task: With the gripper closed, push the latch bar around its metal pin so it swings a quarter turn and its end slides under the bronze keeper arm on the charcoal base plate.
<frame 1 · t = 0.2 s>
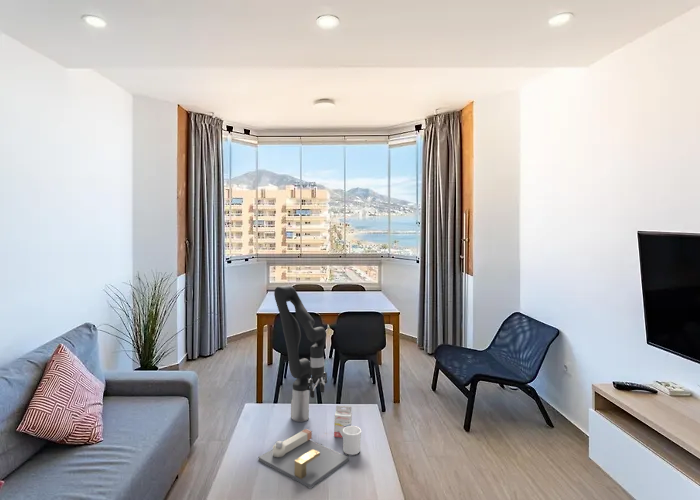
hand: (317, 394, 219), 17 cm above the table, tool pointing down, fingers open, 8 cm apart
ink cartridge box: (342, 436, 211), on the table
keeper: (306, 474, 177), resting on base plate
base plate: (303, 460, 188), on the table
latch bar: (292, 440, 196), point 5 cm above the table, hinge at 90.0°
mug: (352, 450, 197), on the table
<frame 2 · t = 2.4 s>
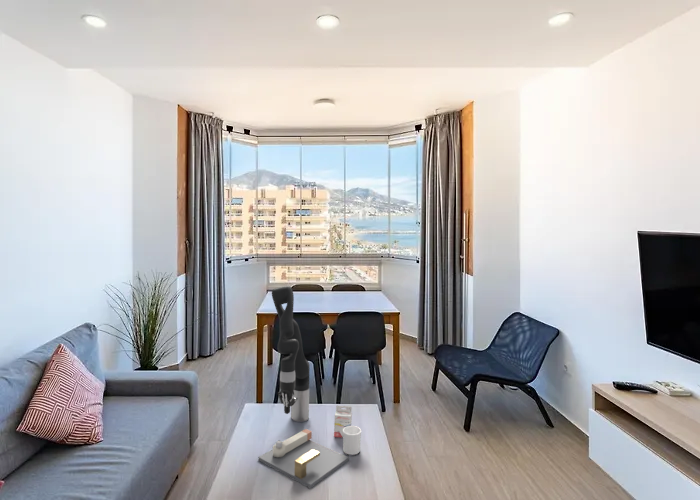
hand: (287, 413, 204), 14 cm above the table, tool pointing down, fingers closed
nothing on the table moved.
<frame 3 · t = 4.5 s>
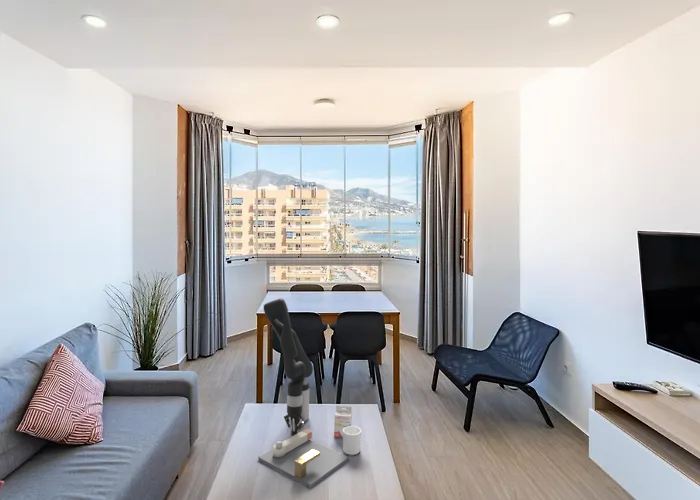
hand: (294, 437, 202), 3 cm above the table, tool pointing down, fingers closed
latch bar: (292, 440, 196), point 5 cm above the table, hinge at 89.9°, touching gripper
everything else where it was.
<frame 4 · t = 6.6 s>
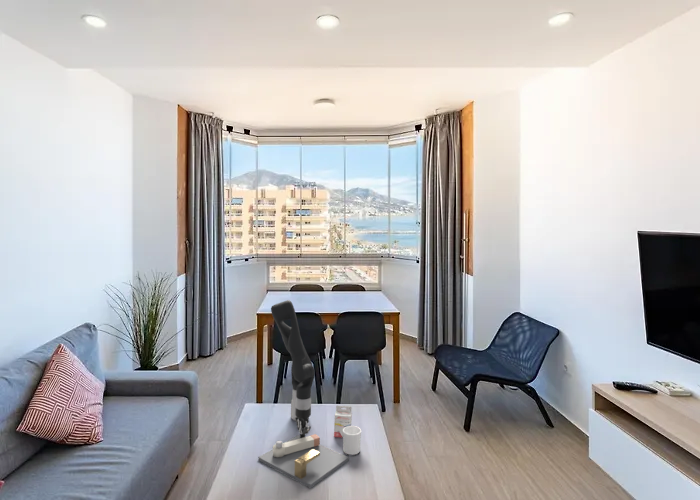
hand: (302, 440, 200), 3 cm above the table, tool pointing down, fingers closed
latch bar: (296, 443, 193), point 5 cm above the table, hinge at 68.7°, touching gripper
everything else where it was.
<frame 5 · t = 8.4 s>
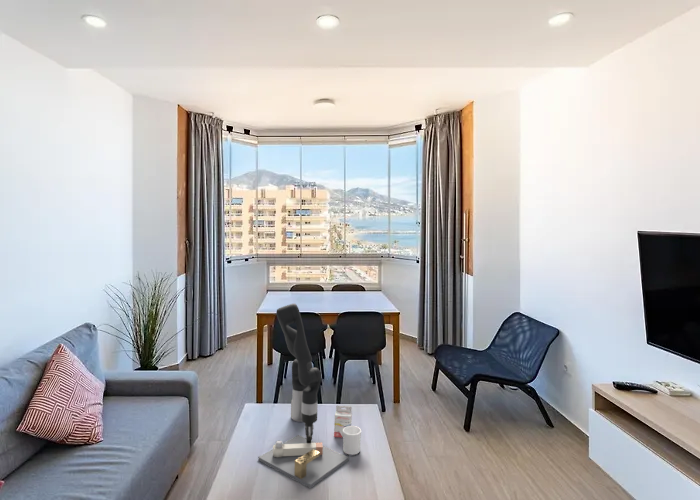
hand: (308, 445, 195), 3 cm above the table, tool pointing down, fingers closed
latch bar: (297, 447, 190), point 5 cm above the table, hinge at 44.1°, touching gripper
everything else where it was.
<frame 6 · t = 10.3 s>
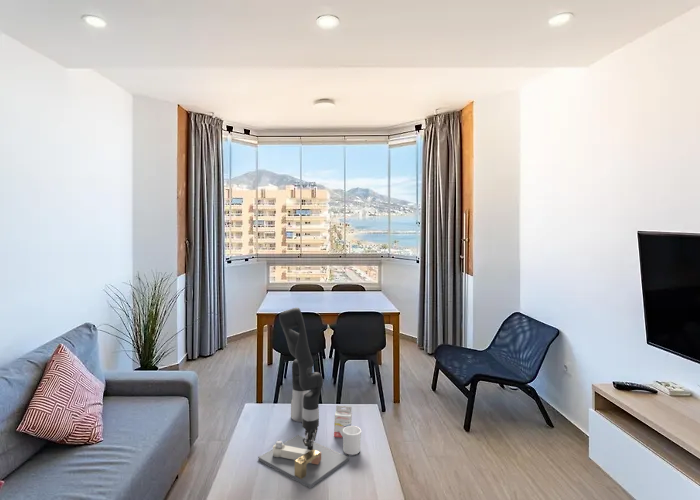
hand: (310, 452, 189), 3 cm above the table, tool pointing down, fingers closed
latch bar: (296, 451, 186), point 5 cm above the table, hinge at 20.3°, touching gripper
everything else where it was.
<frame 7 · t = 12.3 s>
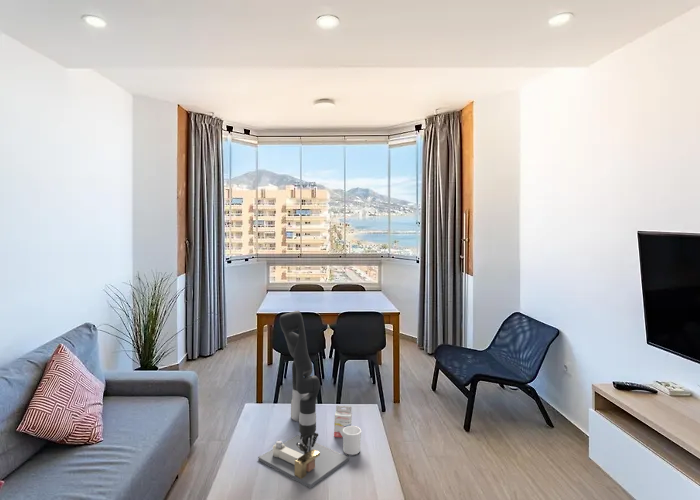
hand: (307, 458, 184), 3 cm above the table, tool pointing down, fingers closed
latch bar: (292, 454, 184), point 5 cm above the table, hinge at 1.7°, touching gripper
everything else where it was.
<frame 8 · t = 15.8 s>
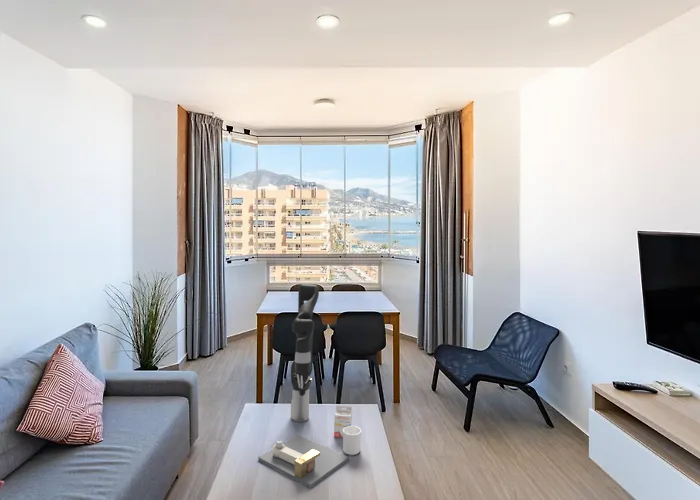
hand: (302, 395, 200), 25 cm above the table, tool pointing down, fingers closed
latch bar: (292, 454, 184), point 5 cm above the table, hinge at 1.4°
everything else where it was.
at the end: latch bar at +1° (first picture: +90°) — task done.
